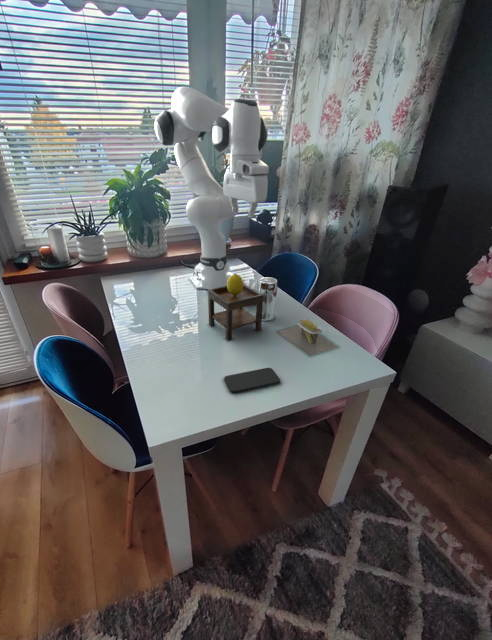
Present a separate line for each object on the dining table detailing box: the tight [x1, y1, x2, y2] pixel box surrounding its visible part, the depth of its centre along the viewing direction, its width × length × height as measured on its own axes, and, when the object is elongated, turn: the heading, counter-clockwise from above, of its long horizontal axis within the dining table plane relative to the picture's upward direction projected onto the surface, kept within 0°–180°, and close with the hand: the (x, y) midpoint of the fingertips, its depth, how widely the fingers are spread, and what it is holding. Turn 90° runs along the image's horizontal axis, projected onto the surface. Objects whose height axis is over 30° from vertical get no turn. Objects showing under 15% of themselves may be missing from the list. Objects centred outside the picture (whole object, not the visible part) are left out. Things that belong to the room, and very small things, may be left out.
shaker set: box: [242, 279, 259, 292], centre depth 134 cm, size 12×4×11 cm, turn 114°
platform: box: [277, 318, 338, 357], centre depth 111 cm, size 12×18×7 cm, turn 27°
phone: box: [223, 367, 281, 394], centre depth 93 cm, size 7×1×15 cm
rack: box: [207, 284, 263, 342], centre depth 116 cm, size 14×14×14 cm
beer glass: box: [258, 276, 278, 322], centre depth 123 cm, size 7×7×15 cm
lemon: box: [227, 273, 244, 296], centre depth 111 cm, size 6×6×8 cm
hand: (242, 214), depth 107 cm, fingers open, 8 cm apart
